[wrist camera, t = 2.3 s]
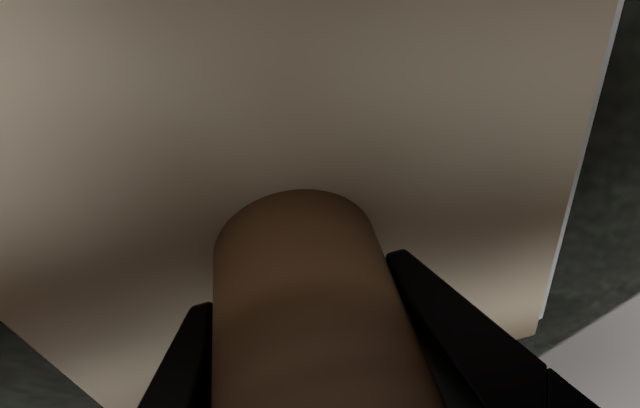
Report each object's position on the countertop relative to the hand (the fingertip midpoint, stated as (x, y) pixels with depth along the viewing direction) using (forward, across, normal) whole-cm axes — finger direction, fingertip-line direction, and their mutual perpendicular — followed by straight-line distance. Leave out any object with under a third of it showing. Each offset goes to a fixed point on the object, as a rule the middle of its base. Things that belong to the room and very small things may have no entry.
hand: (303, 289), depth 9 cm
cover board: (+2, 0, 0) cm, 2 cm away
